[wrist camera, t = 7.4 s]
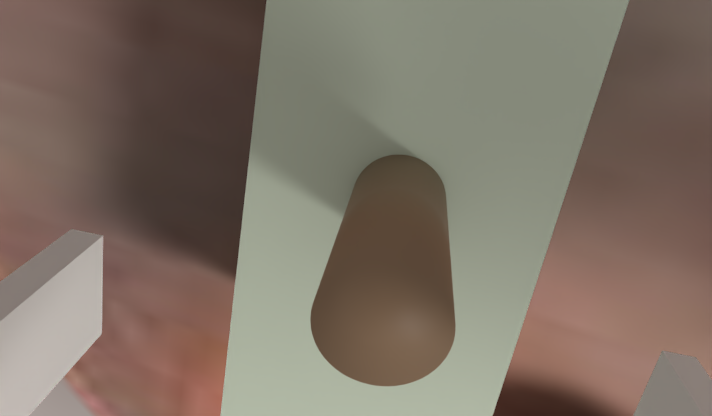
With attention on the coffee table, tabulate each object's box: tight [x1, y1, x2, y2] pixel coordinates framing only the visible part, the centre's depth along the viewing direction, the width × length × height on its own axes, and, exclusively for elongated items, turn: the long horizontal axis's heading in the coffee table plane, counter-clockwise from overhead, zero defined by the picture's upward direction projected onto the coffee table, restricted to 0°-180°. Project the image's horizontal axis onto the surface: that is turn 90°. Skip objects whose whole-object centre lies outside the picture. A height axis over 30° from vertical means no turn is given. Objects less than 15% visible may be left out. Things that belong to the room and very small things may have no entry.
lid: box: [221, 0, 629, 416], centre depth 20 cm, size 12×26×11 cm, turn 170°
